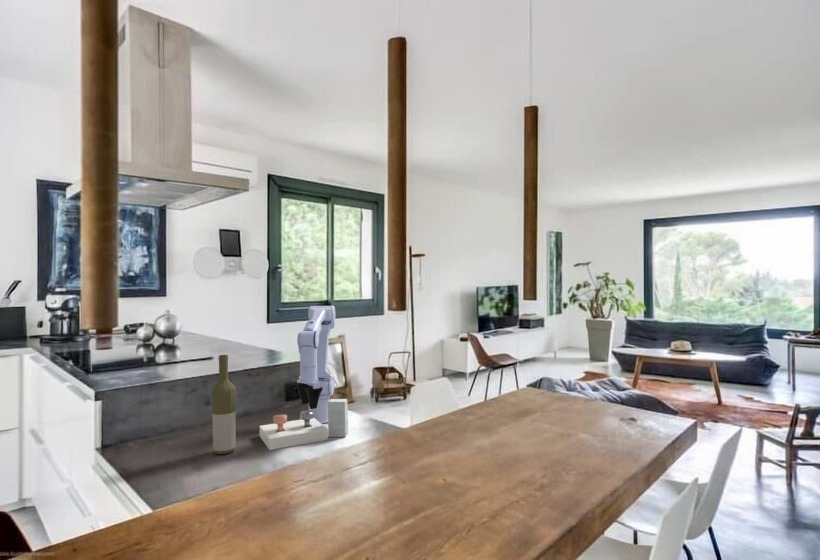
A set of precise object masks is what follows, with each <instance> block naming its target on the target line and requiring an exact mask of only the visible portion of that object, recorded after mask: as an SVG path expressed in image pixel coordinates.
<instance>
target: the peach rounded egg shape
mask: <svg viewBox="0 0 820 560" xmlns="http://www.w3.org/2000/svg"><path fill="white" fill-rule="evenodd" d="M272 420H273V421H272V422H273V423H272V424H278V432H282V431H283V424H284V423H286V422H287V421H288V415H287V414H285V413H283V414H275V415H273V417H272Z"/></svg>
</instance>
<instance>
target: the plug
mask: <svg viewBox="0 0 820 560" xmlns="http://www.w3.org/2000/svg"><path fill="white" fill-rule="evenodd" d="M299 415H300V416H299V420H300V419H301V420H304V428H306V427H310V419H313V418H314V414H313V411H310V410H309V409H308V410H302V411H300V413H299Z"/></svg>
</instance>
